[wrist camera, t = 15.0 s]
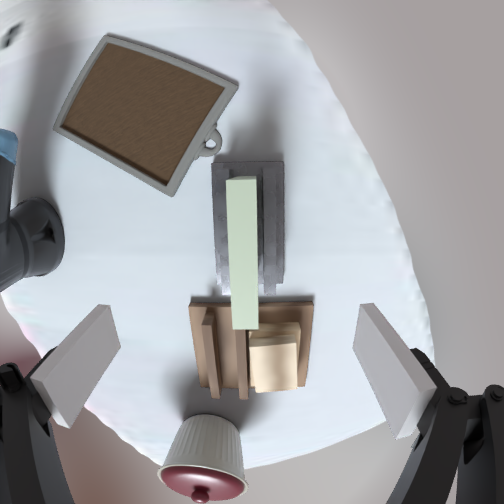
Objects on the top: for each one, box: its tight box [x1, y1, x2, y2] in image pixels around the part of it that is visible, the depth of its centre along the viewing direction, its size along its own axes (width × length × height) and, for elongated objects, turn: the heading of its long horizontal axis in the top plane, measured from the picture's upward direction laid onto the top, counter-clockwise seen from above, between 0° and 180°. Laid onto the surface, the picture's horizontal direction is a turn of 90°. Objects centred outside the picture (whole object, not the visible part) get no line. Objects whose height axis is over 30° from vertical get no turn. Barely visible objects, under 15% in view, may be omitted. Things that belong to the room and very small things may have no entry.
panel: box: [226, 176, 258, 329], centre depth 32 cm, size 2×14×16 cm, turn 1°
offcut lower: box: [249, 322, 301, 386], centre depth 45 cm, size 8×12×2 cm, turn 1°
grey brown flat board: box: [53, 35, 238, 197], centre depth 36 cm, size 19×2×30 cm
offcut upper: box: [249, 334, 297, 393], centre depth 42 cm, size 7×10×2 cm
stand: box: [211, 161, 284, 295], centre depth 38 cm, size 10×18×8 cm, turn 1°
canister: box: [157, 414, 248, 503], centre depth 45 cm, size 18×18×21 cm
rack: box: [188, 301, 314, 399], centre depth 45 cm, size 20×18×6 cm
